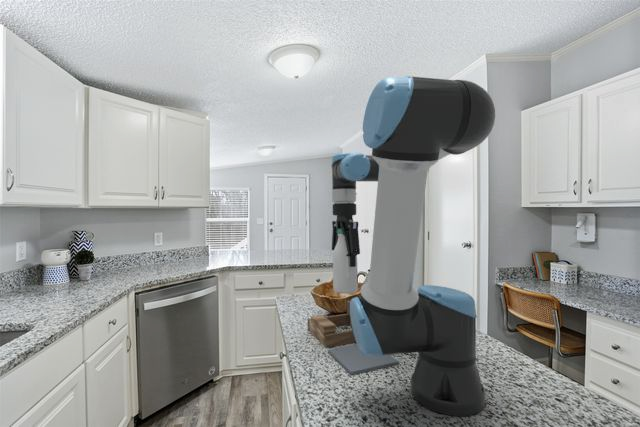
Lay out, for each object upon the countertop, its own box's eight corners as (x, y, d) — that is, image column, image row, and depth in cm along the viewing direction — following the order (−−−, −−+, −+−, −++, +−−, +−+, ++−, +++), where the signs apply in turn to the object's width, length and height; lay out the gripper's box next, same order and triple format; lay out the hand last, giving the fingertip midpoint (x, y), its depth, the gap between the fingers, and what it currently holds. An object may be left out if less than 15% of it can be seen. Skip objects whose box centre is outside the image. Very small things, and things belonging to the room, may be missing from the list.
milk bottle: (356, 294, 102) (355, 228, 102) (331, 293, 103) (330, 228, 103) (358, 288, 109) (357, 227, 109) (335, 288, 111) (334, 227, 111)
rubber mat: (398, 364, 87) (398, 361, 87) (350, 375, 82) (350, 372, 82) (370, 344, 100) (370, 341, 100) (327, 352, 95) (327, 349, 95)
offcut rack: (373, 339, 104) (373, 313, 104) (326, 347, 98) (326, 320, 98) (350, 322, 119) (349, 300, 119) (307, 329, 113) (307, 306, 113)
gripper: (371, 201, 98) (372, 279, 98) (340, 203, 117) (341, 269, 117) (348, 201, 95) (349, 282, 95) (321, 203, 114) (321, 270, 114)
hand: (345, 274), depth 106 cm, fingers closed on milk bottle, 8 cm apart
